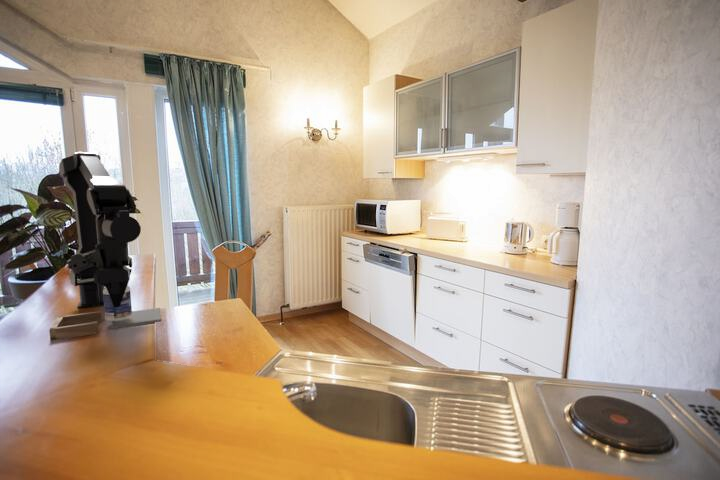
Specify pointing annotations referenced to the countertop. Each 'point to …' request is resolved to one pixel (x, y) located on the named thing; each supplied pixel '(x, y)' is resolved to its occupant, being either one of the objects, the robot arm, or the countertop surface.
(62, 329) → the wooden u-shaped frame
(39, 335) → the countertop surface
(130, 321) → the slate coaster
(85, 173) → the robot arm
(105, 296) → the pill bottle
